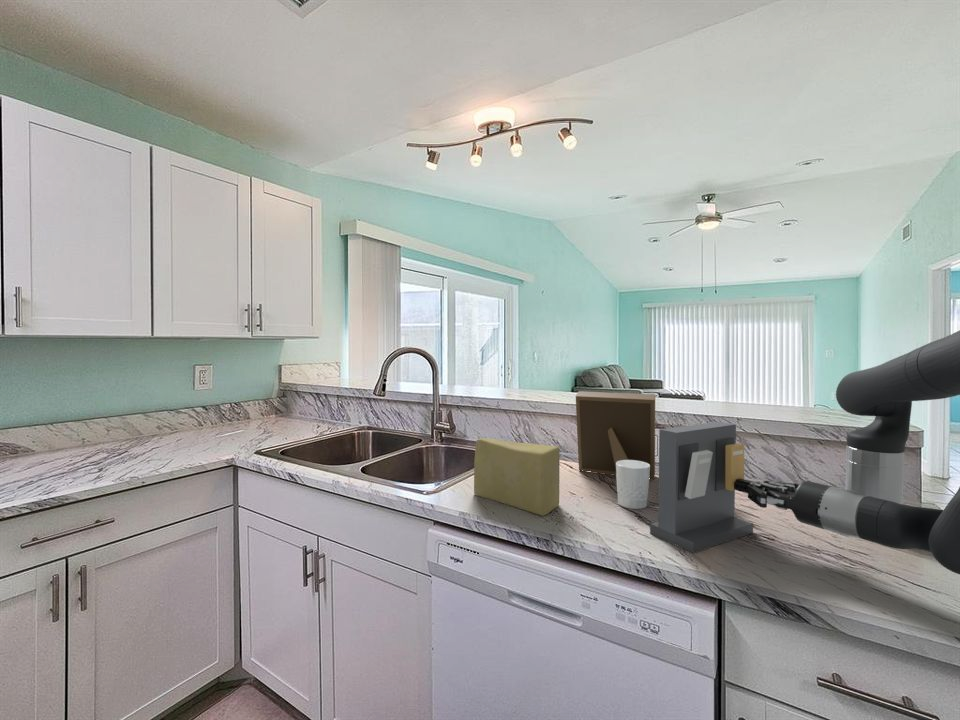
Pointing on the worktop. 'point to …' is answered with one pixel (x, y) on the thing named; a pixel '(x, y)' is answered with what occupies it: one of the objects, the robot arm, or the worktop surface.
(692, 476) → the grey rocker
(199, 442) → the worktop surface
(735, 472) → the amber rocker
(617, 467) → the white cup
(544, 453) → the cheese
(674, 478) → the power panel
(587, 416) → the photo frame
